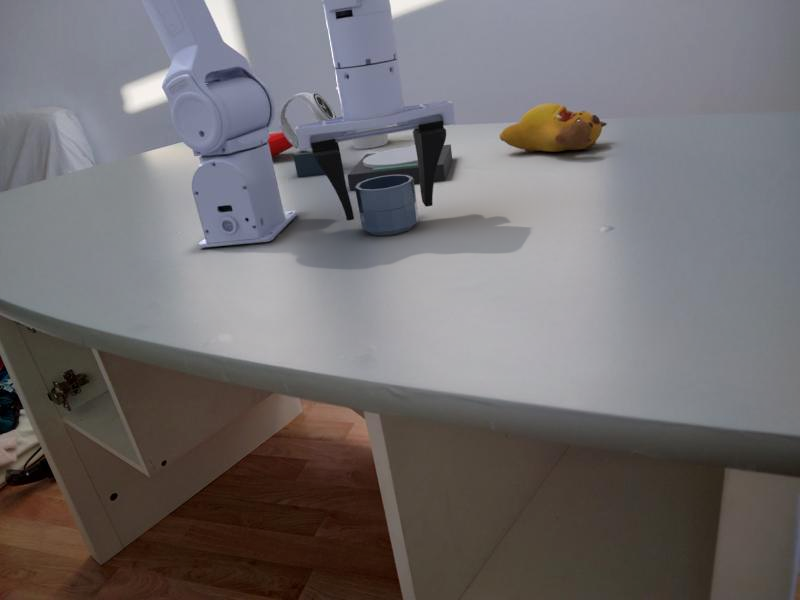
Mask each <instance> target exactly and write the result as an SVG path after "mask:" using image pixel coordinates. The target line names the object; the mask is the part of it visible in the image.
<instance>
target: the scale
mask: <svg viewBox="0 0 800 600" xmlns="http://www.w3.org/2000/svg"><path fill="white" fill-rule="evenodd" d="M452 161H453V152H452V144H451V143H450V144H444V146H443V148H442V151H441V154H440V157H439V161H438V164H437V168H436V173H435V179H434V183H435V182H444V181H446V179H447V176H448V173H449V170H450V167H451V164H452ZM387 175H409V176H411V177H413V179H414V185H415V184H420V175H419V165H418V158H417V152H416V147H415V145H414V146H404V147H398V148H392V149H387V150H383V151H379V152H372V153H366V154H364V156H363V157H362V158H361V159H360V160H359V161H358V163H356V165H354V167H352V169H351V170H350V171H349V172H348V173H347V175H346V176H347V182H348V186H349V191H356V190H355V187H356V185H357V184H358V183H360V182H362V181H365V180H367V179H371V178H376V177H380V176H387Z"/></svg>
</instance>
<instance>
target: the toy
mask: <svg viewBox="0 0 800 600" xmlns="http://www.w3.org/2000/svg"><path fill="white" fill-rule="evenodd" d="M607 125H608V123H607V122H605V121H601V119H600V118H599V116H597V115H596V114H592V113H590V112H588V111H585V110H580V111H577V112H573V111H572V110H571V109H569V108H568V107H566V106H565V105H561V104H559V103H555V102H554V103H553V102H546V103H540V104H538V105H536V106H534V107H532V108H531V109H529V110H528V111H527V112H526V113H525V114H523V116H522V118H521V119H520V120H519V122H517V123H515V124H511V125H508V126H507V127H505V128H504V129H503V130H502V132H501V133H500V134H499V139H500V140H501V142H504V143H506V144H507V145H508V146H511V147H514V148H517V149H519V150H525V151H527V152H531V153H533V152H539V151H542V152H550V153H551V152H554V153H555V152H564V151H579V150H584V151H587V150H589V149H591V148H592V147H593V146H595V145H596V141H598V139H599V137H600V136H601V134H602V130H603V128H604V127H605V126H607Z"/></svg>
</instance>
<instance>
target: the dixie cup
mask: <svg viewBox="0 0 800 600" xmlns="http://www.w3.org/2000/svg"><path fill="white" fill-rule="evenodd" d="M335 90H336V91H337V93H338V94H339V92H338V86H337V85H336V86H335ZM386 127H388V126H383V127H378V128H371V129H363V130H357V132H363V131H368V130H374V129H380V128H386ZM357 132H355V133H357ZM388 135H389V134H383V135H377V136H371V137H365V138H360V139H354V140H351V141H352V144H353V148H354V149H357V150H366V149H373V148H378V147H382V146H385V145H387V144H388V141H389V139H388Z"/></svg>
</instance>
